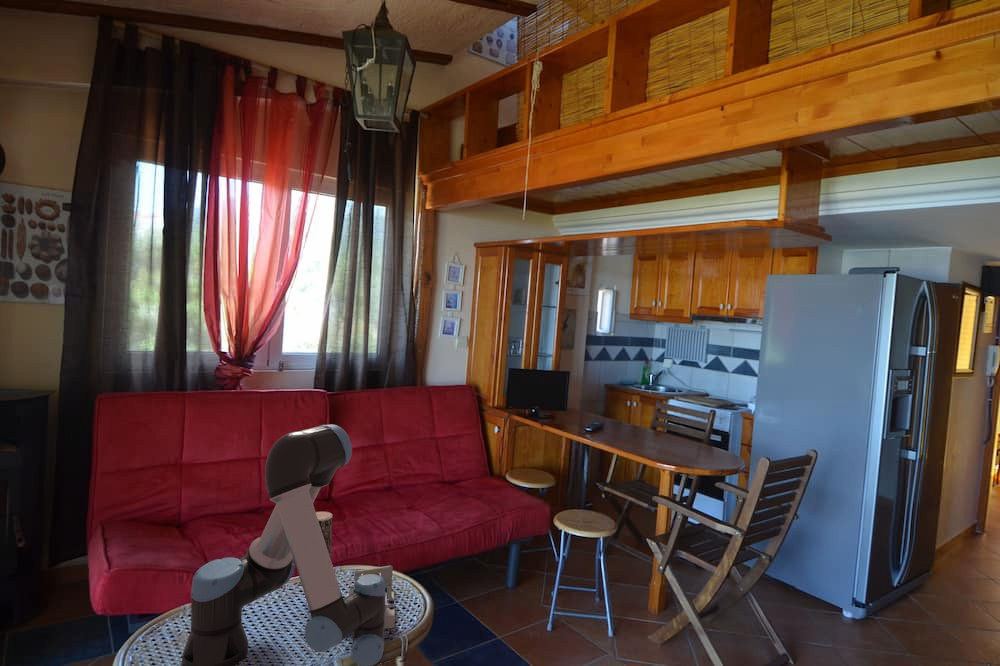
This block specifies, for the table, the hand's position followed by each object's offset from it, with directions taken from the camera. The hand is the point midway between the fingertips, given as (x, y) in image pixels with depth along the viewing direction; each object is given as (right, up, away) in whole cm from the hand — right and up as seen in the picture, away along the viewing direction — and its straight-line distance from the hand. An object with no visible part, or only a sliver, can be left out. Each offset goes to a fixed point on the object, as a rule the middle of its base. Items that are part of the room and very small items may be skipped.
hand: (371, 577), depth 174 cm
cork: (+1, -7, -5) cm, 9 cm away
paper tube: (-18, -8, +7) cm, 21 cm away
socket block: (+1, -9, -5) cm, 10 cm away
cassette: (-1, -9, +10) cm, 13 cm away
